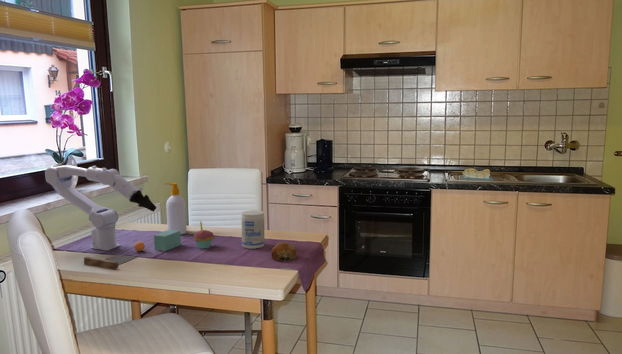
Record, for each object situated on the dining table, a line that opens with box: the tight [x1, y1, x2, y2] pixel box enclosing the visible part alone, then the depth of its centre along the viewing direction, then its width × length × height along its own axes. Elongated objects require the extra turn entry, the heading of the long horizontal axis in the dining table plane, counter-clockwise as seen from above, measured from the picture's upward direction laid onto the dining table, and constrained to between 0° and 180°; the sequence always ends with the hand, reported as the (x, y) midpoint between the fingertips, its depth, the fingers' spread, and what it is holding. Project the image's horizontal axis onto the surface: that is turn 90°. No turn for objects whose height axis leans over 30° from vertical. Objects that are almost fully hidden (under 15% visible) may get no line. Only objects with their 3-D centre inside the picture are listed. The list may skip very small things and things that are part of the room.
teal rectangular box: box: [153, 229, 182, 252], centre depth 199 cm, size 6×10×6 cm, turn 156°
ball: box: [134, 241, 146, 252], centre depth 194 cm, size 4×4×4 cm
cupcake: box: [193, 220, 215, 249], centre depth 199 cm, size 9×8×12 cm
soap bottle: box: [164, 182, 188, 236], centre depth 221 cm, size 9×9×24 cm
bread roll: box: [270, 241, 297, 262], centre depth 185 cm, size 10×10×8 cm
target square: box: [103, 253, 138, 266], centre depth 184 cm, size 10×10×1 cm
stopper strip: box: [83, 256, 119, 270], centre depth 176 cm, size 16×1×2 cm, turn 66°
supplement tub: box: [241, 209, 265, 250], centre depth 199 cm, size 10×10×15 cm
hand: (151, 207), depth 192 cm, fingers open, 7 cm apart
